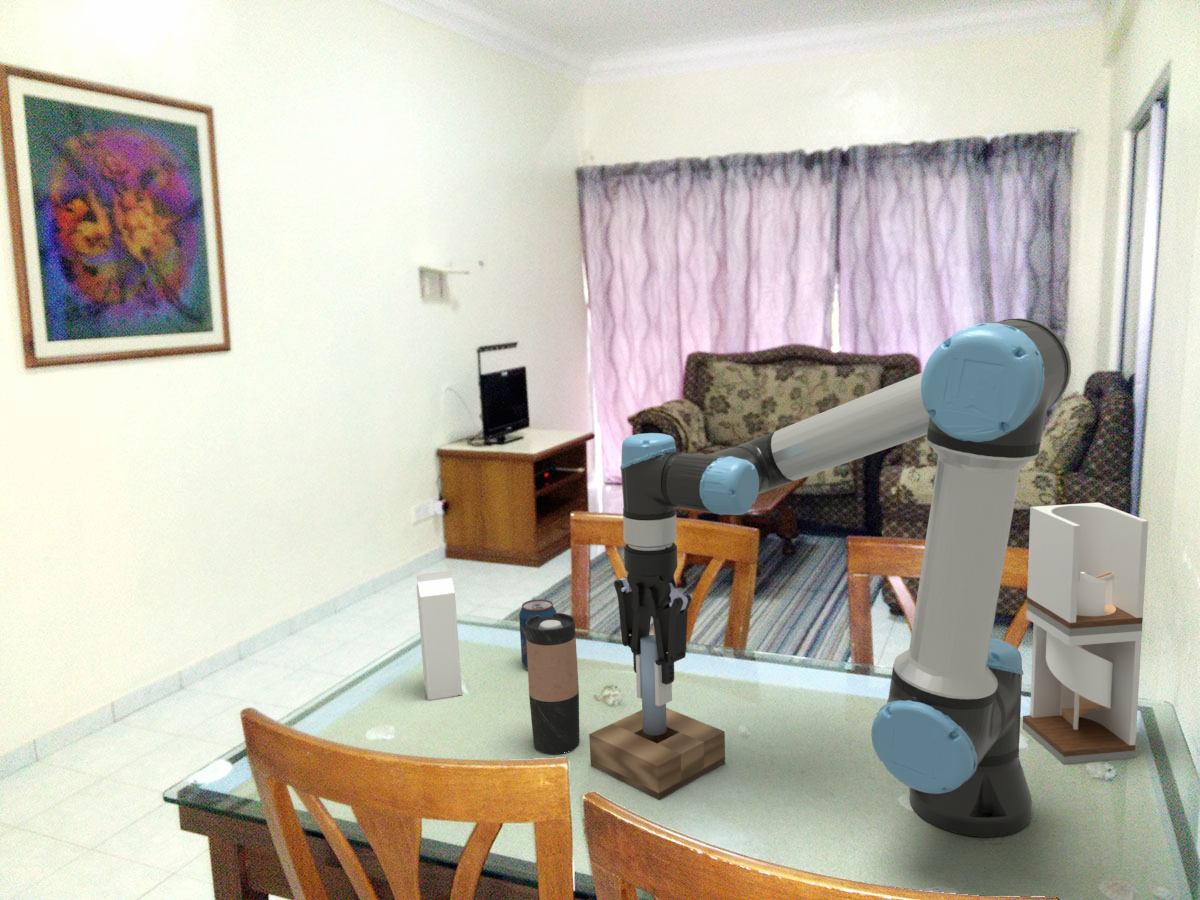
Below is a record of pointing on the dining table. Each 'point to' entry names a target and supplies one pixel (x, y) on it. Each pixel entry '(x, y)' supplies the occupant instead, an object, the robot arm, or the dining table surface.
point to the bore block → (657, 752)
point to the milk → (439, 634)
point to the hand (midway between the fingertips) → (654, 698)
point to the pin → (650, 689)
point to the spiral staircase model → (1085, 629)
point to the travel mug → (553, 682)
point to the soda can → (529, 610)
